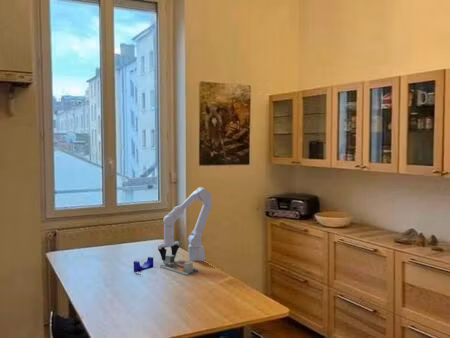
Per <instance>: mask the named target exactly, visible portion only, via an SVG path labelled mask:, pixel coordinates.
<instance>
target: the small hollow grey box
mask: <svg viewBox="0 0 450 338" xmlns="http://www.w3.org/2000/svg"><path fill="white" fill-rule="evenodd" d="M193 263H194V262H193V261H192V262H191V261H186V262H184V263H183V265H184V272H186V273H191V272H193V268H194V267H193Z"/></svg>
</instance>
